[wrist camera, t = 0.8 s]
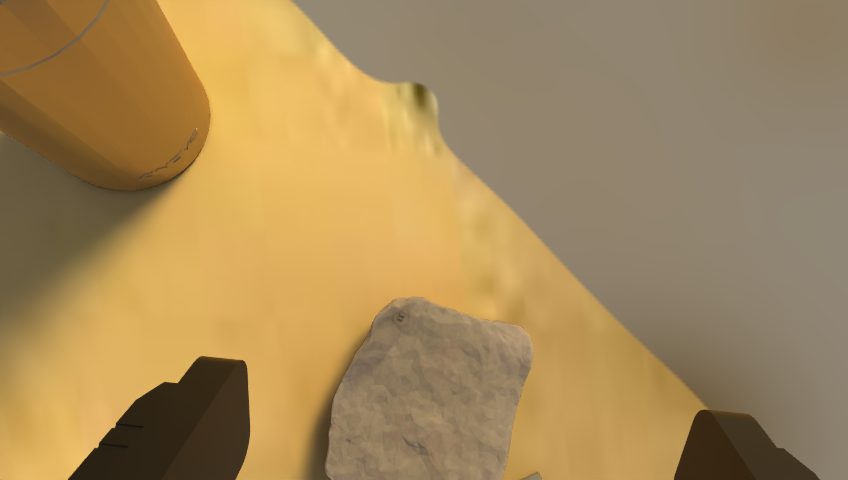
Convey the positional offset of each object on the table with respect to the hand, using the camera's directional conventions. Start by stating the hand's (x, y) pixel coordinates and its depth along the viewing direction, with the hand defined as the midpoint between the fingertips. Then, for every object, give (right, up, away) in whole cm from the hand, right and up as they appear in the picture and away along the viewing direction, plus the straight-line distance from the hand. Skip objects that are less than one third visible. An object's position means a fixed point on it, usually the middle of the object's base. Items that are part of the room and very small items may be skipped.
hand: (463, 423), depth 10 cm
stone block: (-1, -6, +22) cm, 23 cm away
